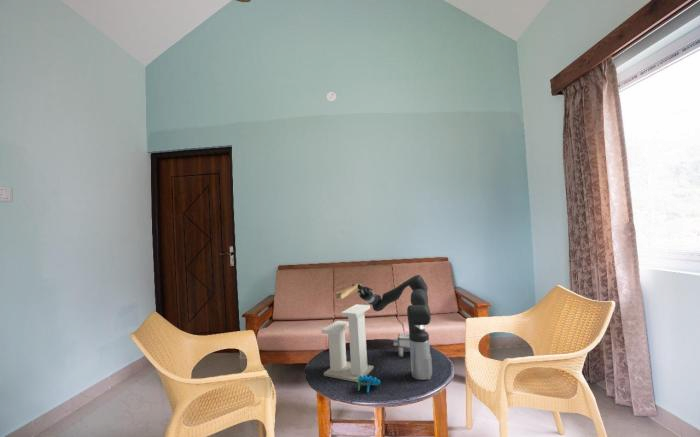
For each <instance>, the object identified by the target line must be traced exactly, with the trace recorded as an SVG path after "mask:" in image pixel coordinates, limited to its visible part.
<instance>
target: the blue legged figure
mask: <svg viewBox="0 0 700 437" xmlns="http://www.w3.org/2000/svg"><path fill="white" fill-rule="evenodd" d="M355 383H356V384H357V386H358V388H357V391H360V390H361V386H366V394H369V393H370V386H372V387H373V386H379V385H380V384H381V379H379V378H377V377H375V376H372V375H367V376H366V375H364V377H363V376H360V377H358V379H356V382H355Z"/></svg>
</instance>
